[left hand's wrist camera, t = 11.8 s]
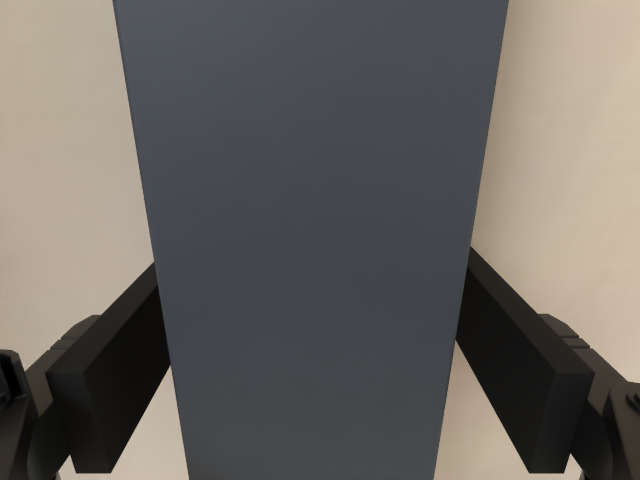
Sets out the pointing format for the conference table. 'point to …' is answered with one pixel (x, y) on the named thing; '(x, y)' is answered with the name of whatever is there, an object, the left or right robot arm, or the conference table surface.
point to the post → (310, 220)
